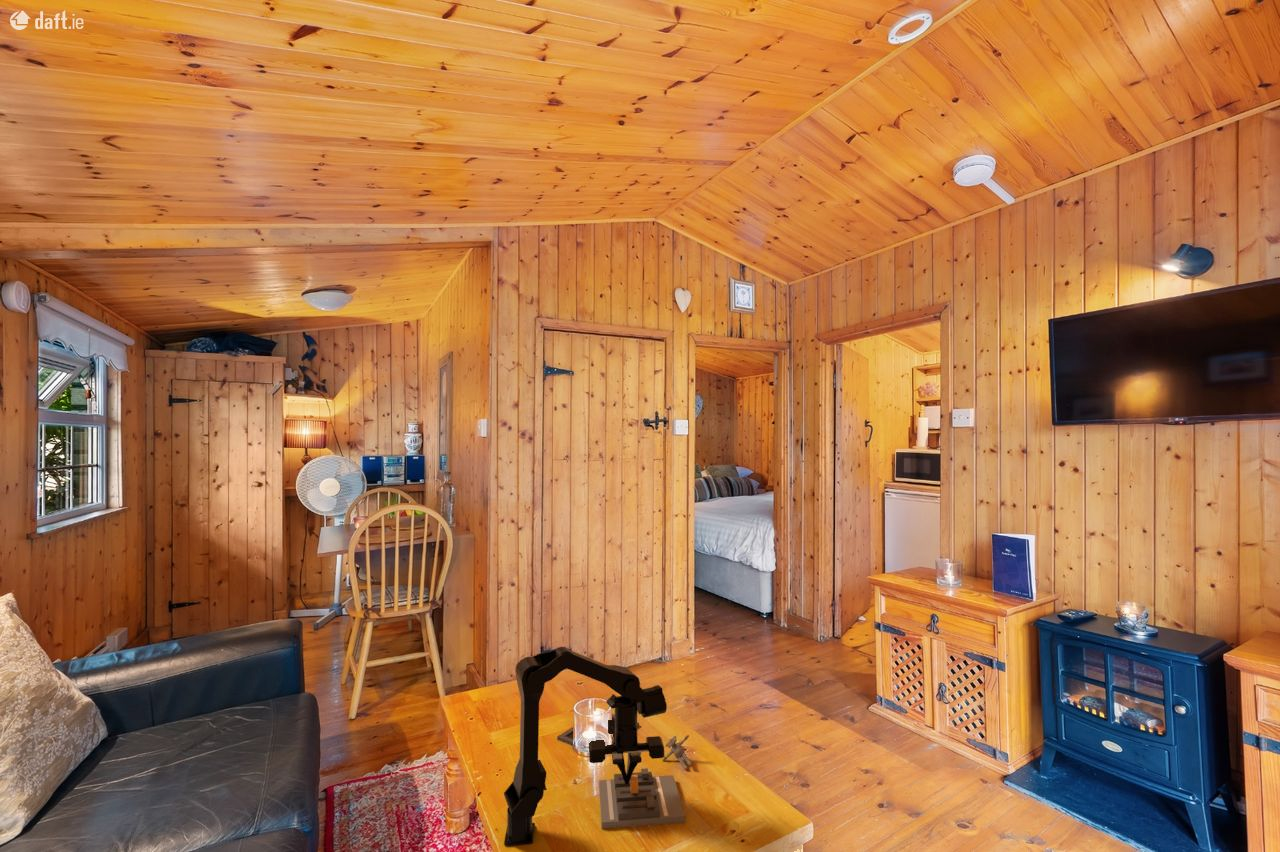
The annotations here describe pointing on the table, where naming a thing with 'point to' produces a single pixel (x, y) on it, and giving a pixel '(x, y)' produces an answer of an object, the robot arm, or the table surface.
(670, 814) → the panel
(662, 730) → the table surface
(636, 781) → the handle
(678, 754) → the grey toy figurine
